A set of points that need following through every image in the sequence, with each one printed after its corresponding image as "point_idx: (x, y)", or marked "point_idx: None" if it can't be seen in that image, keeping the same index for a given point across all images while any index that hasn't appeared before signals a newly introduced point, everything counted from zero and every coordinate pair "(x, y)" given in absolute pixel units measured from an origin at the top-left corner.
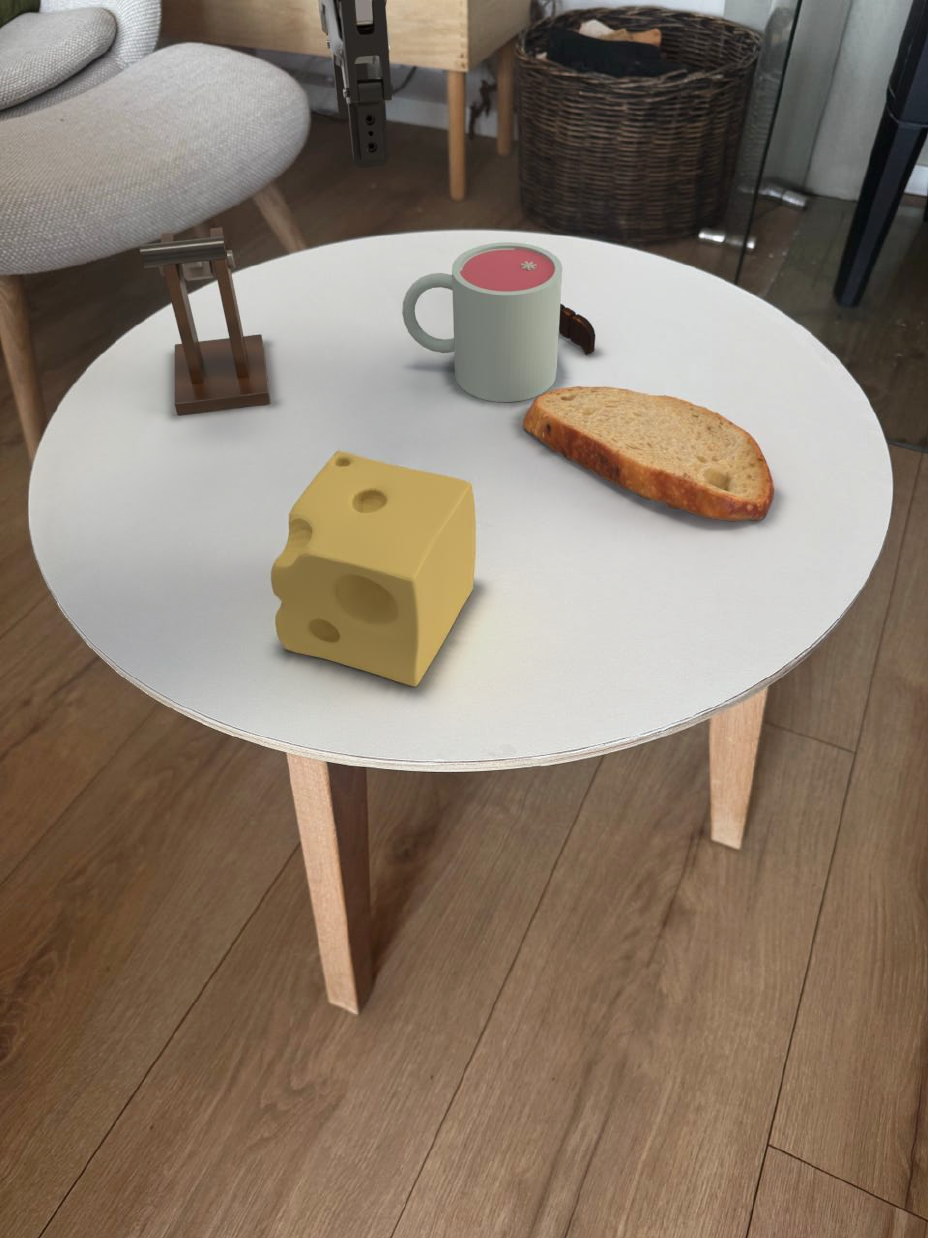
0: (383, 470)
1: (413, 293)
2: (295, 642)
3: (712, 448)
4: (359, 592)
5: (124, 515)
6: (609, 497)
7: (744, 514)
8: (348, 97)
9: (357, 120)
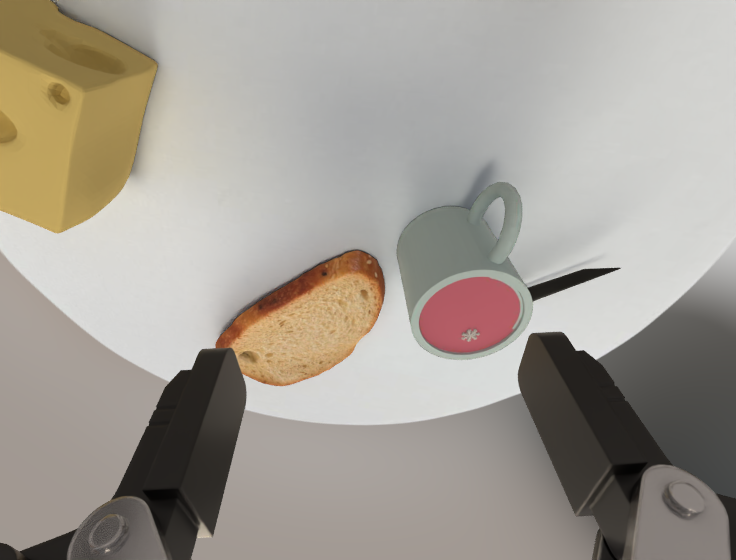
0: (51, 146)
1: (506, 211)
2: None
3: (281, 362)
4: None
5: None
6: (256, 290)
7: None
8: (77, 533)
9: (144, 461)
